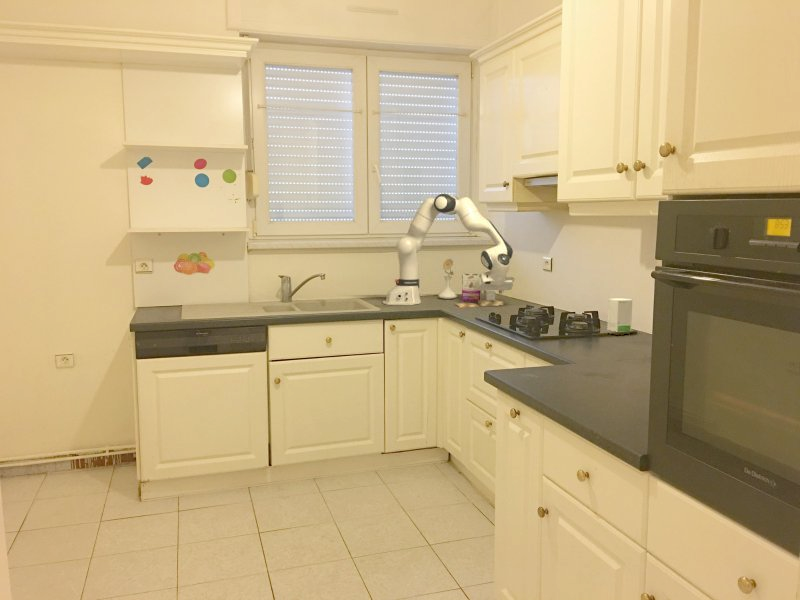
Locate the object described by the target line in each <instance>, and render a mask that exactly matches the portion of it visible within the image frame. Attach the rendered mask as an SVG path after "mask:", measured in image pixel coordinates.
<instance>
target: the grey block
mask: <svg viewBox="0 0 800 600" xmlns="http://www.w3.org/2000/svg"><path fill="white" fill-rule="evenodd" d="M484 300H485V301H495V300H496V290H486V294H485V299H484Z"/></svg>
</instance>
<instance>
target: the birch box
mask: <svg viewBox="0 0 800 600" xmlns="http://www.w3.org/2000/svg"><path fill="white" fill-rule="evenodd" d="M485 300H486V299H481V300H478V302H477V305H479V306H480V305H481V306H480V307H493V306H494V307H499V305H503V306H504V301H503V300H501V299H495V301H485Z"/></svg>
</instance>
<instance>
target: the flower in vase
mask: <svg viewBox="0 0 800 600" xmlns="http://www.w3.org/2000/svg"><path fill="white" fill-rule="evenodd" d="M453 265H454V260H453V259H452V258H447V259H445V261H443V264H442V269H443V270H444V273H446V274H447V275H445V276H443V277H444V280H445V288H444V290H442V291H441V292H440V293H439V294H438V298H441V299H444V300H452V299H455V298H457V297H458V295H457V294H456V292H454V291H453V290H452V289H451V288H450V283H451V280H452V279H451V278H452V277H453V275H454V272H453V270H452V266H453ZM448 270H450V271H449V272H448ZM451 270H452V271H451Z"/></svg>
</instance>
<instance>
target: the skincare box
mask: <svg viewBox="0 0 800 600" xmlns="http://www.w3.org/2000/svg"><path fill="white" fill-rule="evenodd" d="M607 307H608V308H607V327H606V331H607V330H611V331H616V332H619V331H631V332H632V317H633V316H632V312H633V311H632V310H633V299H629V298H619V297H618V298H608V305H607Z"/></svg>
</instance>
